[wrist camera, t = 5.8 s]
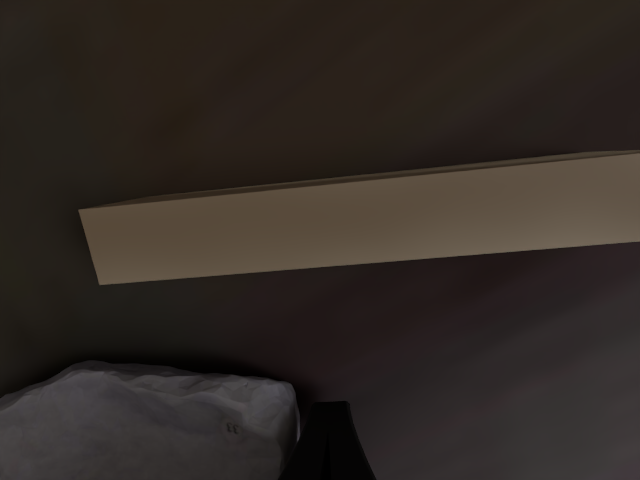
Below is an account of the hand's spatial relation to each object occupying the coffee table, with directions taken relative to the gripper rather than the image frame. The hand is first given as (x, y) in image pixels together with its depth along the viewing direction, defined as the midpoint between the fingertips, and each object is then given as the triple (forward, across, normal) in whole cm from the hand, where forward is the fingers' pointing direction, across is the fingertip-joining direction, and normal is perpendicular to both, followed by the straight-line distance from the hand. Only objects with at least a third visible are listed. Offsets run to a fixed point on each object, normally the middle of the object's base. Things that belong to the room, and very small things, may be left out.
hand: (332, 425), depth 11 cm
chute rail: (+1, -1, -8) cm, 8 cm away
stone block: (+2, +7, +2) cm, 7 cm away
